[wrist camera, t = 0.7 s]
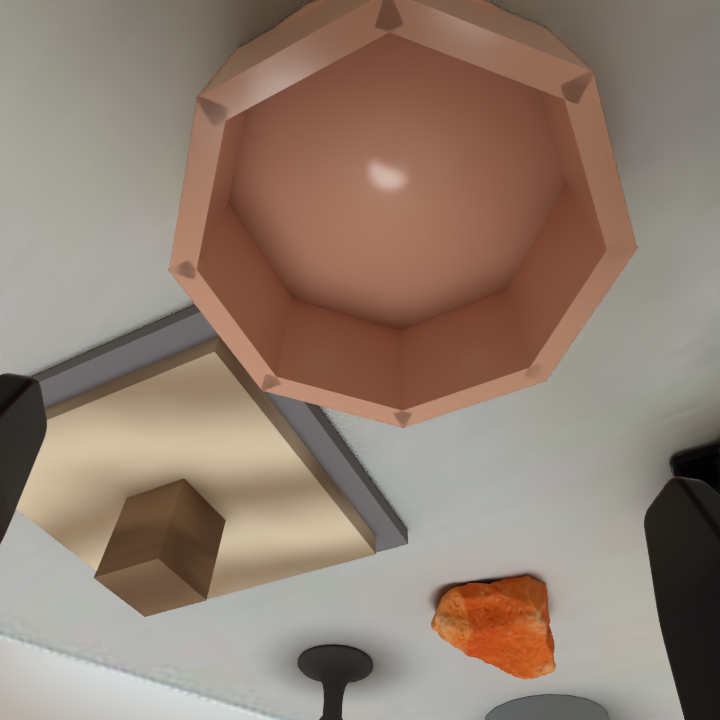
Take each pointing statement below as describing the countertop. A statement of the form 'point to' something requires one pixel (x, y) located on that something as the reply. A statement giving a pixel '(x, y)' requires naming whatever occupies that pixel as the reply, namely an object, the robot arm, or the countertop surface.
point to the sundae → (334, 673)
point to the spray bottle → (549, 709)
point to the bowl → (400, 206)
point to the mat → (300, 415)
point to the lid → (187, 485)
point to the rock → (500, 624)
